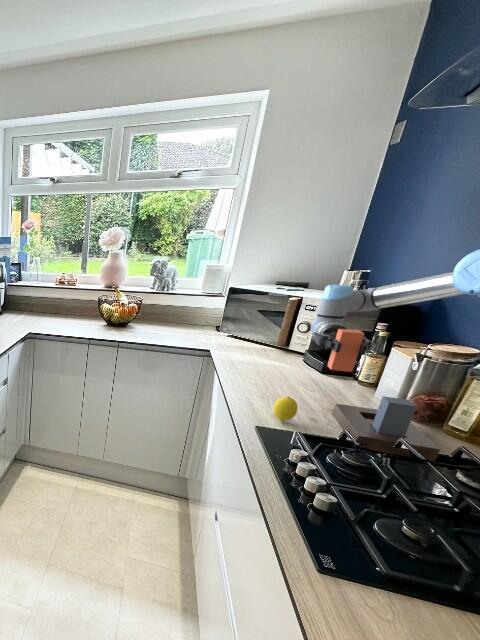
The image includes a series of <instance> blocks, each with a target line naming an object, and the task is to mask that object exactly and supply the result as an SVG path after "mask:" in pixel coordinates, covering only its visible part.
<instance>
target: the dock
mask: <svg viewBox="0 0 480 640" xmlns="http://www.w3.org/2000/svg"><path fill="white" fill-rule="evenodd" d="M377 411H378V408H377V409H375V408H371V407H370V408H369V407H364V406H363V407H362V406H356V405H355V406H354V405H347V404H342V403H334V407H333V409H332V413H331V415H332V416H333V417H334V419H335V421H336V422H337V424H338V425H339V426H340V428H341V430H342V431H343V430H348V431H349V432H350V434H352V436H353V437H354V439H355V440H356V442H357V443H365V444H367V445H355V444H354V446H353V448H354V447H360V448H366V449H369V450H368V451H371V450H373V451H372V452H377V451H378V452H377V453H382V452H383V453H382V454H388V453H389V454H388V455H393V454H395V455H394V456H399V455H401V456H400V457H404V456H407V457H406V458H410V457H413V455H412V454H411V453H410V452H409V451H408V450H407V449H402V448H395V447H393V446H394V445H395V443H396V442H397V440H398V439H399V438H401V437H399V436H393V435H387V434H381V433H376V432H375V431H374V429H373V428H372V424H373V422H374V419H375V416H376V413H377ZM402 438H403V439H404V440H405V441H407V442H408V443H409V444H410V445H411V446H412V447H413V448H414V449H416V450H417V452H418V453H420V454H421V455H422V456H423V457H425V458H426V459H427V460H429V461H428V462H433V463H435V462H436V460H437V458H438V456H439V453H440V451H441V449H440V448H439V446H437V445H436V444H435V443H434V442H433V441H432V440H431V439H430V438H429V437H428V436H426V434H424V433H423V431H421V430H420V429H419V428H418V427H417V425H415V424H414V423H413V421H410V424H409V426H408V429H407V431H406V434H405V436H404V437H402ZM360 448H359V449H360Z"/></svg>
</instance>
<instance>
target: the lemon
mask: <svg viewBox="0 0 480 640" xmlns="http://www.w3.org/2000/svg"><path fill="white" fill-rule="evenodd" d="M272 408H273V409H272V412H273V415H274V416H275V418H277V419H278V420H279V421H280V422H285V421H289V420H292V419H293V418H294V417H295V416H296V415H297V413H298V403H297V401H296V400H295V399H294V398H292V397H291V396H289V395H287V396H283V397H280V398H278V399H277V400H276V401H275V403H274V405H273V407H272Z"/></svg>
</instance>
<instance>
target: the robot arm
mask: <svg viewBox="0 0 480 640" xmlns="http://www.w3.org/2000/svg"><path fill="white" fill-rule="evenodd" d="M467 295H468V296H469V295H470V296H477V297H478V298H480V249H477V250H474V251H472V252H470V253H469V254H467V255H465V256H464V257H462V259H461V260H460V261H459V262H457V264H456V265H455V267H454V268H453V271H449V272H445V273H441V274H436V275H430V276H426V277H420V278H415V279H411V280H407V281H401V282H395V283H391V284H386V285H382V286H378V287H372V288H365V289H357V290H355V289H354V286H352V285H348V284H346V285H345V284H328V285H327V286H325V288H324V291H323V294H322V295H321V299H320V303H319V307H318V311H317V315H316V317H315V320H314V321H313V322H312V324H311V327H310V330H311V333H312V335H311V338H310V340H311V341H313V342H315V344H316V345H317V346H318V347H323V346H324V345H325V348H324V349H325V350H332V349H333V350H334V351H335V352H338V353H339V351H340V348H341V345H342V344H341V343H340V342H339V341H338V340H336V335H337V332H338V329H348V328H347V327H346V326H344V325H343V324H344V320H345V318H346V314H347V313H349V312H350V313H351V312H374V311H378V310H377V309H379V310H381V309H386V308H392V307H397V306H399V307H400V306H405V305H410V304H416V303H417V304H418V303H423V302H429V301H436V300H441V299H442V300H443V299H448V298H455V297H461V296H467ZM373 343H374V342H373V341H371V340H370V339H368V338H367V336H365V335H364V337H363V340H362V343H361V346H360V349H359V352H358V354H360V355H362V356H365V355H366V352H367V351H371V349H372V346H373Z"/></svg>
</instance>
